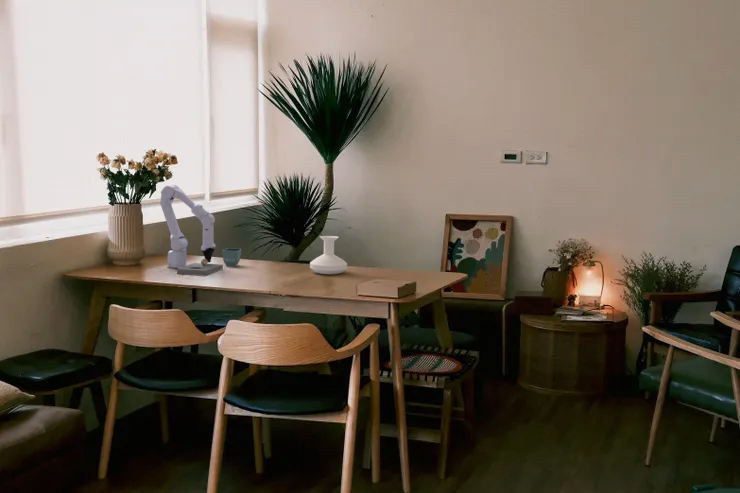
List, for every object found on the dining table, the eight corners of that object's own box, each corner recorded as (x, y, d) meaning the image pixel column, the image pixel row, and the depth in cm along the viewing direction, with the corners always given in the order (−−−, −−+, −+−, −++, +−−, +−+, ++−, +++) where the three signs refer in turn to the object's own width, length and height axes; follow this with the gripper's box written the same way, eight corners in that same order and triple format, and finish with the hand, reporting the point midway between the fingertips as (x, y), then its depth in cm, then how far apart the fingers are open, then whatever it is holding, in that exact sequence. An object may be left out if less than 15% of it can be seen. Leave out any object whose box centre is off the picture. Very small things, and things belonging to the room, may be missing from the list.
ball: (199, 265, 429) (199, 259, 428) (202, 264, 432) (202, 258, 432) (206, 265, 428) (206, 259, 428) (208, 265, 431) (208, 258, 431)
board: (177, 273, 416) (177, 268, 416) (194, 267, 438) (194, 262, 437) (206, 275, 413) (206, 270, 413) (222, 269, 435) (222, 264, 434)
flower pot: (241, 264, 451) (241, 248, 450) (237, 267, 442) (237, 250, 441) (226, 264, 452) (226, 248, 451) (221, 266, 443) (221, 250, 442)
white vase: (342, 277, 420) (343, 240, 418) (305, 274, 424) (305, 238, 422) (351, 271, 440) (351, 235, 437) (315, 269, 444) (315, 234, 441)
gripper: (209, 238, 425) (209, 264, 427) (220, 235, 439) (220, 260, 441) (197, 238, 427) (197, 263, 428) (208, 235, 441) (208, 260, 442)
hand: (208, 262), depth 435 cm, fingers closed
